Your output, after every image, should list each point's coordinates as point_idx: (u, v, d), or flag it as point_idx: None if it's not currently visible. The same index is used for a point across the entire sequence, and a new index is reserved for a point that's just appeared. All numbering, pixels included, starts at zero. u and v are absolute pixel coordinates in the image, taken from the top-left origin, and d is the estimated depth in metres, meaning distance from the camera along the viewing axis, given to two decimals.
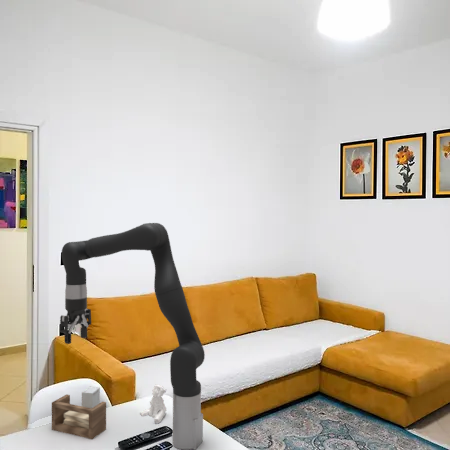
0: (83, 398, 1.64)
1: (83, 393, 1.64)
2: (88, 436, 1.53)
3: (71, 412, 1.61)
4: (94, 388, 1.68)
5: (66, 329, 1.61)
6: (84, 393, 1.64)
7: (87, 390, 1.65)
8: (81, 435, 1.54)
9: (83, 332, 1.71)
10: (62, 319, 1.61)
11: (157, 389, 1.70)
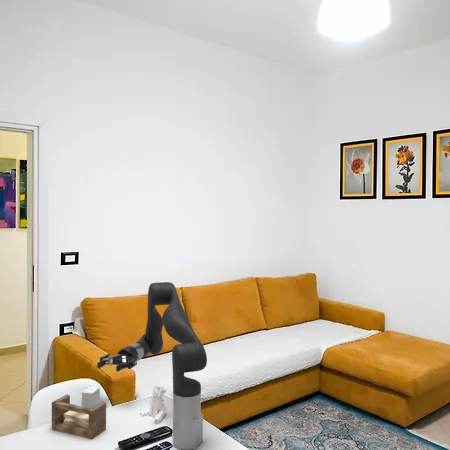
0: (83, 398, 1.64)
1: (83, 393, 1.64)
2: (88, 436, 1.53)
3: (71, 412, 1.61)
4: (94, 388, 1.68)
5: (102, 357, 1.83)
6: (84, 393, 1.64)
7: (87, 390, 1.65)
8: (81, 435, 1.54)
9: None
10: None
11: (157, 389, 1.70)
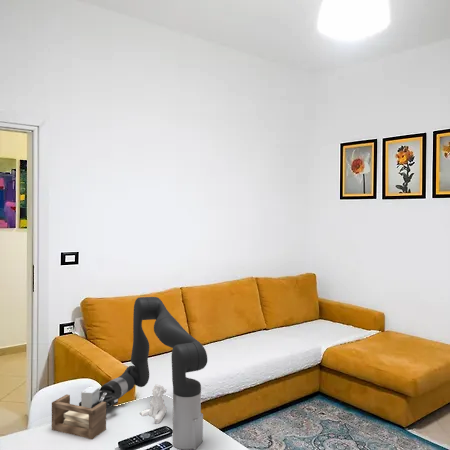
0: (83, 398, 1.64)
1: (83, 393, 1.64)
2: (88, 436, 1.53)
3: (71, 412, 1.61)
4: (94, 388, 1.68)
5: None
6: (83, 392, 1.64)
7: (87, 390, 1.65)
8: (81, 435, 1.54)
9: None
10: None
11: (157, 389, 1.70)
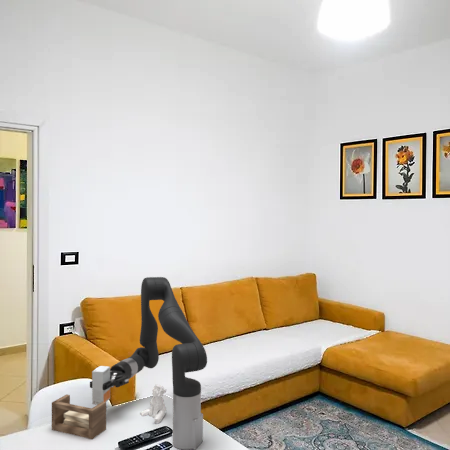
0: (94, 377, 1.62)
1: (93, 372, 1.62)
2: (88, 436, 1.53)
3: (71, 412, 1.61)
4: (105, 367, 1.66)
5: None
6: (94, 372, 1.62)
7: (97, 369, 1.64)
8: (81, 435, 1.54)
9: None
10: None
11: (157, 389, 1.70)
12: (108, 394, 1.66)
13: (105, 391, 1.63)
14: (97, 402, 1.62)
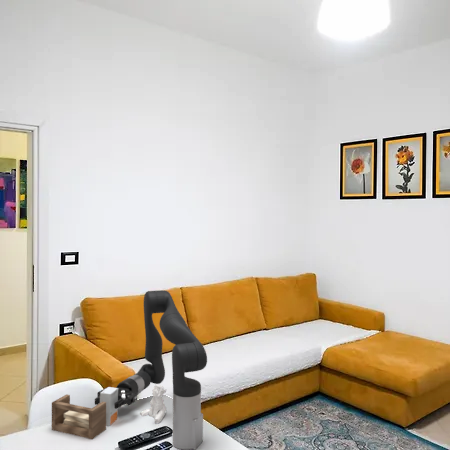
0: (101, 399, 1.62)
1: (101, 394, 1.62)
2: (88, 436, 1.53)
3: (71, 412, 1.61)
4: (113, 388, 1.66)
5: (100, 391, 1.71)
6: (102, 393, 1.62)
7: (105, 391, 1.64)
8: (81, 435, 1.54)
9: None
10: None
11: (157, 389, 1.70)
12: (115, 416, 1.66)
13: (112, 413, 1.63)
14: None
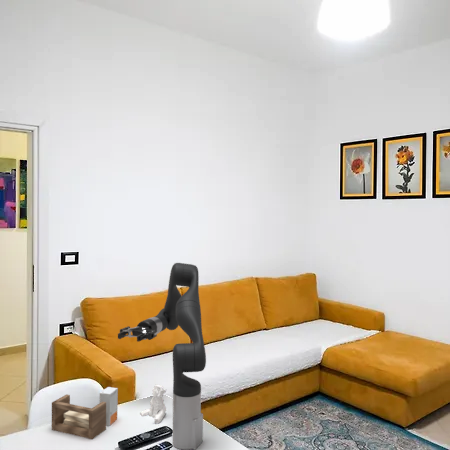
0: (101, 399, 1.62)
1: (101, 394, 1.62)
2: (88, 436, 1.53)
3: (71, 412, 1.61)
4: (112, 388, 1.66)
5: (122, 329, 1.84)
6: (101, 393, 1.62)
7: (105, 391, 1.64)
8: (81, 435, 1.54)
9: None
10: None
11: (157, 389, 1.70)
12: (115, 416, 1.66)
13: (112, 413, 1.63)
14: None
